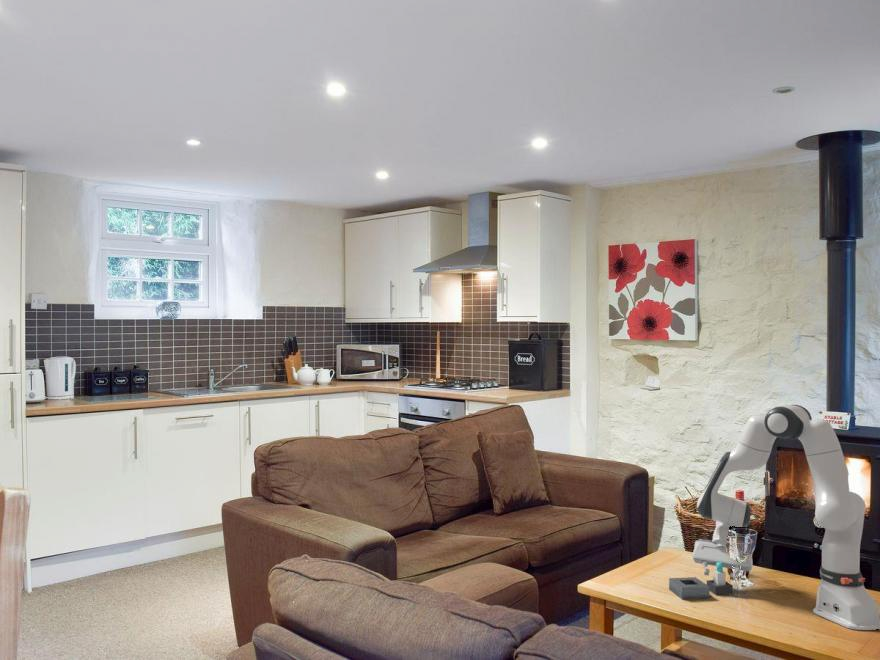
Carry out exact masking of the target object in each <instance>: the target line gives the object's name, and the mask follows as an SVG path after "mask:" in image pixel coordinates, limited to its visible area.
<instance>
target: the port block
mask: <svg viewBox="0 0 880 660" xmlns="http://www.w3.org/2000/svg"><path fill="white" fill-rule="evenodd" d="M668 590H669V591H671V592H672V593H673V594H674V595H676V596H677V597H678V598H679V599H681V600H693V599H694V600H698V599H700V600H701V599H710V591H709V586H708V585H707V583H705V582H703V581H702V580H700V579H699V578H697V577H696V576H692V577H672V578H671V577H670V578H668Z"/></svg>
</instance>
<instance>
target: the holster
mask: <svg viewBox="0 0 880 660" xmlns="http://www.w3.org/2000/svg"><path fill="white" fill-rule="evenodd" d="M706 585H708V586H709V592H711V593H712V594H714V595H715V596H721V595H723V596H724V595H733V594H734V593H733V590H734V589H733V588H734V585H732V584H731V583H729V582H728V581H726V585H716V584H714V583H713V579H712V580H711V579H710V580H707V579H706Z"/></svg>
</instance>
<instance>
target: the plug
mask: <svg viewBox="0 0 880 660" xmlns="http://www.w3.org/2000/svg"><path fill="white" fill-rule="evenodd" d="M723 568H724V567H723V563H720V562H717V566H716V570H713V577H712V578H713V579H712V580H713V583H714V584H716V585H726V582H727V577H726V576H727V573H726V572H725V571H724V569H723Z"/></svg>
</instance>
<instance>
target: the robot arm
mask: <svg viewBox="0 0 880 660" xmlns="http://www.w3.org/2000/svg"><path fill="white" fill-rule="evenodd" d="M777 438H779V439H787V440H788V439H789V440H799V441H800V442H801V445H802V446H803V449H804V453H805V454H804V455H805V457H806V460H807V464H808V468H809V471H810V475H811V479H812V484H813V495H814V504H815V511H814V516H815V519H816V521H817V523H818V524H819V525H820V526H821V527H822V528H824V531H825V532H824V534H823V535H824V536H823V539H822V542H821V565H820V569H819V577H820V579H821V580H820V583H819V585H818V587H817V592H816V593H817V594H816V602H815V607H814V608H813V609H812V612H813V613H814V614H815V615H817V616H820V617H822V618H825V619H826V620H829V621H831V622H833V623H836V624H838V625H840V626H842V627H844V628H847V629H850V630H857V631H872V630H873V631H877V630H876V629H879V630H880V608H879V605H878V602H877V599H874V598H873V596H872V595H871V594H870V592H869V591H868V590H867V589H866V588H865V585H864V582H866V578H865V577H863V575H862V572H861V571H860V569H861V568H860V565H861V564H860V563H861V562H860V561H861V560H860V559H861V556H860V555H861V553H860V551H861V541H862V536H863V531H864V530H863V529H864V522H865V513H866V510H867V506H866V503H865V500H864V498H862V496H861V495H860V494H858V493H856V492H853V491H850V485H849V475H850V474H849V469H848V467H847V462H846V459H845V457H844V453H843V449H842V447H841V443H840V441H839V438H838V436H837V433H836V432H835V430H834V428H833V426H832V425H831V423H830V422H829V421H828V420H825V419H820V418H818V419H817V418H814V419H813V418H812V414H811V413H810V412H809V410H808V409H806V407H804V406H801V405H798V404H782V405H779V406H776V407H774V408H773V407H772V408H771V409H770V410H769V411H768V412H767V413H766V414H765V415H762V414H754V415H752V416H750V417H749V418H748V419H747V421H746V422H745V424H744V427H743V429H742V431H741V434H740V436H739V439H738V442H737V444H736V446H735V447H734V448H733V449H732V450H731V451H726V452H725V453H724V454H723V456H722V457H721V459H720V461H719V462H718V464H717V465H716V468H715V470H714V471H713V473H712V475H711V476H710V478H709V480H708V482H707V484H706V486H705V487H704V489H703V491H702V492H701V494H700V495H699V497H698V499H697V501H696V510H697V512H698V513H699V516H701V518H704V519H708V520H713V521H715V529H714V530H713V534H712V539H703V538H700V539H697V540H695V541H694V545H693V546H694V547H693V548H694V549H693V552H692V554H691V555H692V556H691V557H692V560H693V562H694V563H695V564H700V565H702V567H703V569H704V570H703V574H704V576H710V573H711V572H710V569H709V568H708V566H712V567H713V566H714V567H717V562H720V563H723V568H725V569H730V570H734V571H733V572H730V575H729V579H730V580H733V581H735V580H736V576H738V574H739V573H740V571H744V572H751V571H752V570H753V555H752V553H751V554H750V556H751V558H750V556H749V558H748V560H747V559H746V561H745V562H741V563H740V562H736V561H735V560H733V559H732V558H730V556H729V552H728V550H727V552H726V544H727V540H726V538H727V536H728V532H729V527H730V526H731V527H732V526H735V527H746V528H748V527H749V526H750V522H751V517H752V516H751V515H752V508H751V507H750V504H749V503H748V502H746V501H744V500H741V499H738V498H734V497H731V496H727V495H724V494H720V493H718V491H719V489H720V488H721V486H722V484H723V483H724V481H725V479H726V477H727V476H728V475H729V474H730V473H731V474H732V473H733V472H738V471H739V472H742V471H743V472H744V471H754V470H757V469H760V468H762V467H764V466H765V465H766V464H767V463H768V460H769V458H770V456H771V453H772V449H773V446H774V443H775V441H776V439H777ZM727 553H728V555H727ZM749 559H750V560H749ZM732 566H733V567H735V568H733V567H732ZM740 566H741V569H740Z"/></svg>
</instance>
